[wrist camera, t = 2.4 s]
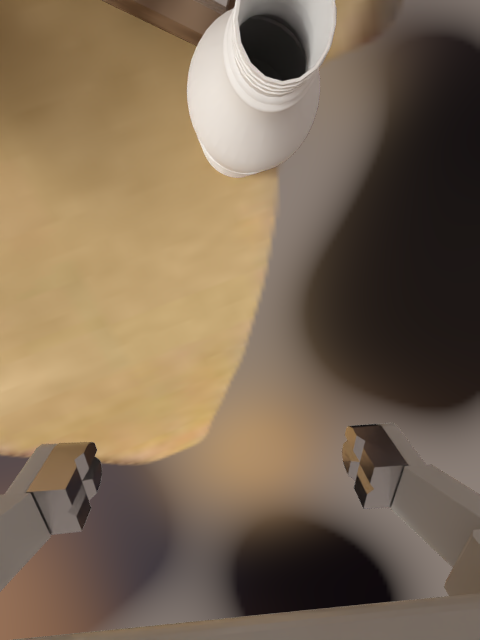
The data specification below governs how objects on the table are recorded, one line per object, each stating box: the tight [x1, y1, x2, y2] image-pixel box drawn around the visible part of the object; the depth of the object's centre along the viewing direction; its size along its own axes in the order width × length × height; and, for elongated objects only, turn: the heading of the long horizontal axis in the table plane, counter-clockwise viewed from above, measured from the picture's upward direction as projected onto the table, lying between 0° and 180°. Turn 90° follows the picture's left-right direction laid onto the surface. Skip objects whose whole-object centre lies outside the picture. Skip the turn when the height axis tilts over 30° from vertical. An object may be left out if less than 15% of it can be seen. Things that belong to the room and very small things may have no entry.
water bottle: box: [187, 0, 337, 178], centre depth 20 cm, size 7×7×25 cm
